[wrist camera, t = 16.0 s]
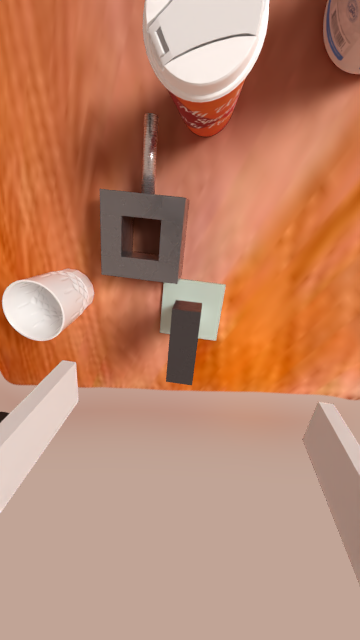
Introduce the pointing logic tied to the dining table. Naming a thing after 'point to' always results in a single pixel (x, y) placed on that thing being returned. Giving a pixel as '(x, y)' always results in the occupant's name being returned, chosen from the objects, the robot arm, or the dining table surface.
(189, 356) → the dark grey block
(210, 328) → the mat
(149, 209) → the block
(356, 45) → the supplement tub
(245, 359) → the dining table surface
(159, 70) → the coffee cup
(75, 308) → the white cup
